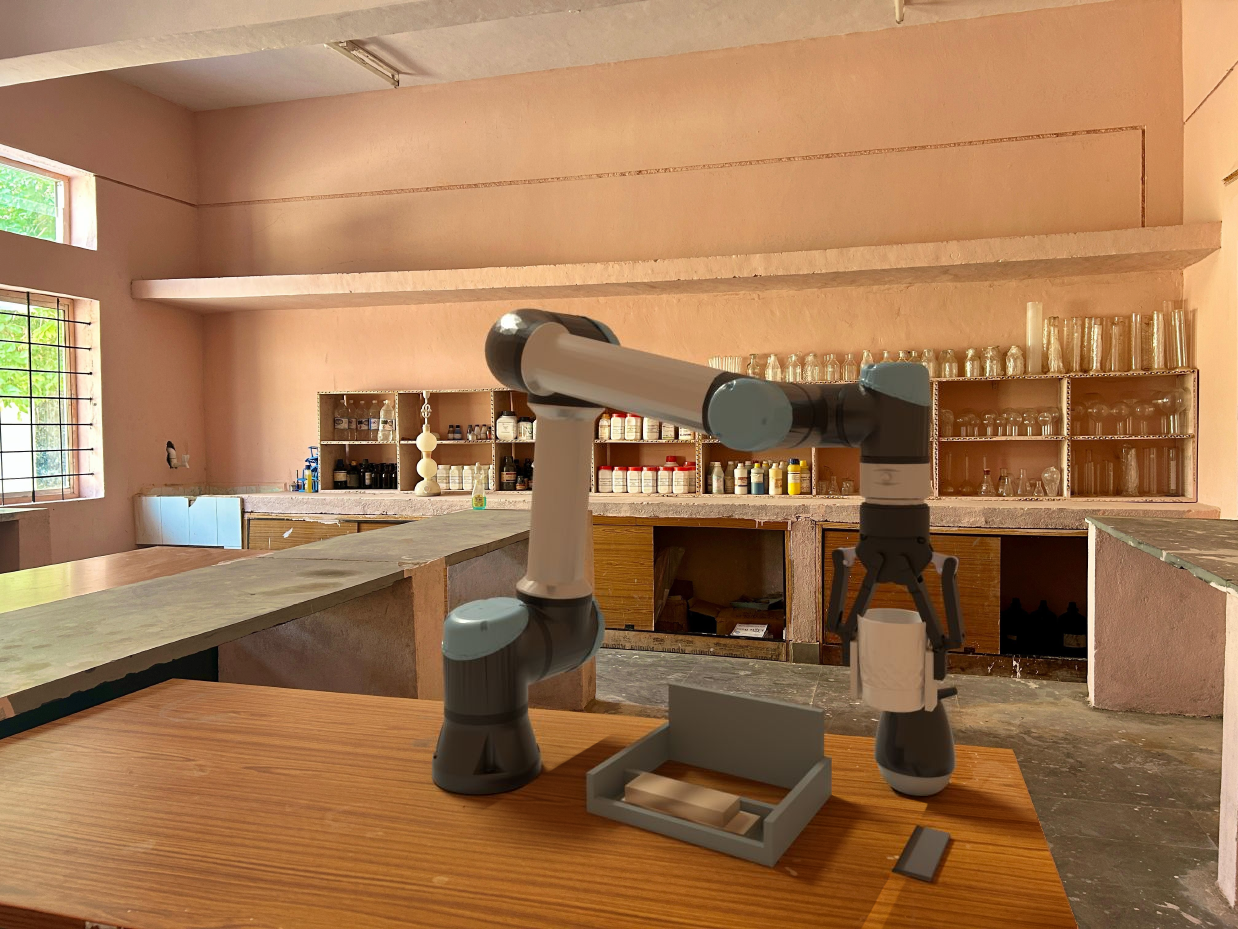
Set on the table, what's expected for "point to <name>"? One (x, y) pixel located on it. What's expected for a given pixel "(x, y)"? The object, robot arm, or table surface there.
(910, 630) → the white cup
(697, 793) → the upper offcut
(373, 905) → the table surface
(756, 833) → the block
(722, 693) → the rack
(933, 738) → the pump dispenser
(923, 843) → the mat
